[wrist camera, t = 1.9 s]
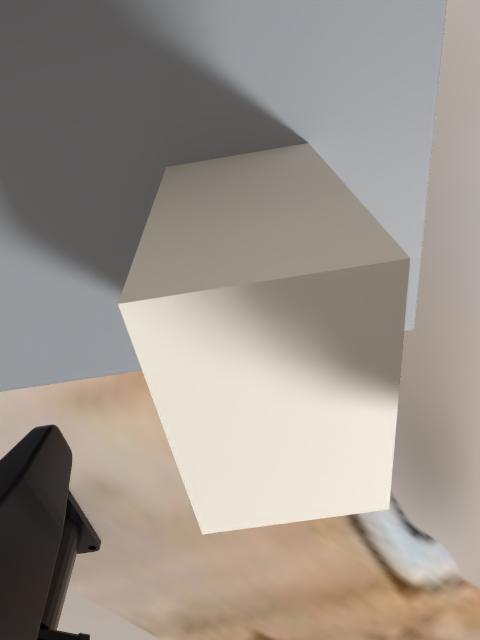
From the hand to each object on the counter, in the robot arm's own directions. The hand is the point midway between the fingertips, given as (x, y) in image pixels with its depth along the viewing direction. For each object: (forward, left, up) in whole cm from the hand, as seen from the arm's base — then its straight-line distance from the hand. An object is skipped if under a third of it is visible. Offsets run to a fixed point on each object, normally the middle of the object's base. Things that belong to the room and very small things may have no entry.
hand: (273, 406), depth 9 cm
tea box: (0, 0, -7) cm, 7 cm away
